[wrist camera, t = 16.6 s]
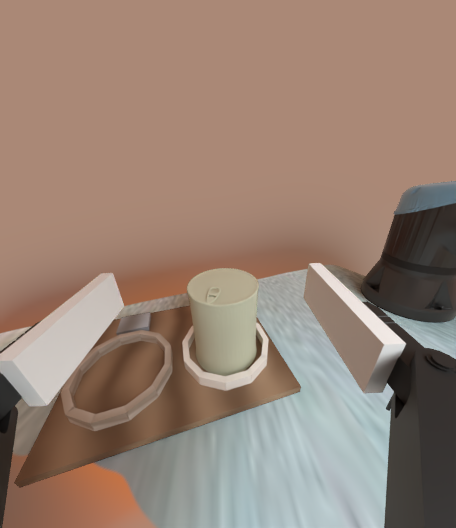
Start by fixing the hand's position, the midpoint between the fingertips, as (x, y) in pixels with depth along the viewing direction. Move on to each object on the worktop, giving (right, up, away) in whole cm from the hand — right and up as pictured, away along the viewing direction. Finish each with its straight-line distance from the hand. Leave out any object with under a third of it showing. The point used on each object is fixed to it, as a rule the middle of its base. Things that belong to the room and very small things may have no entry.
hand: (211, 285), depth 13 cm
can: (+1, -12, +16) cm, 20 cm away
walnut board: (-7, -13, +17) cm, 22 cm away
